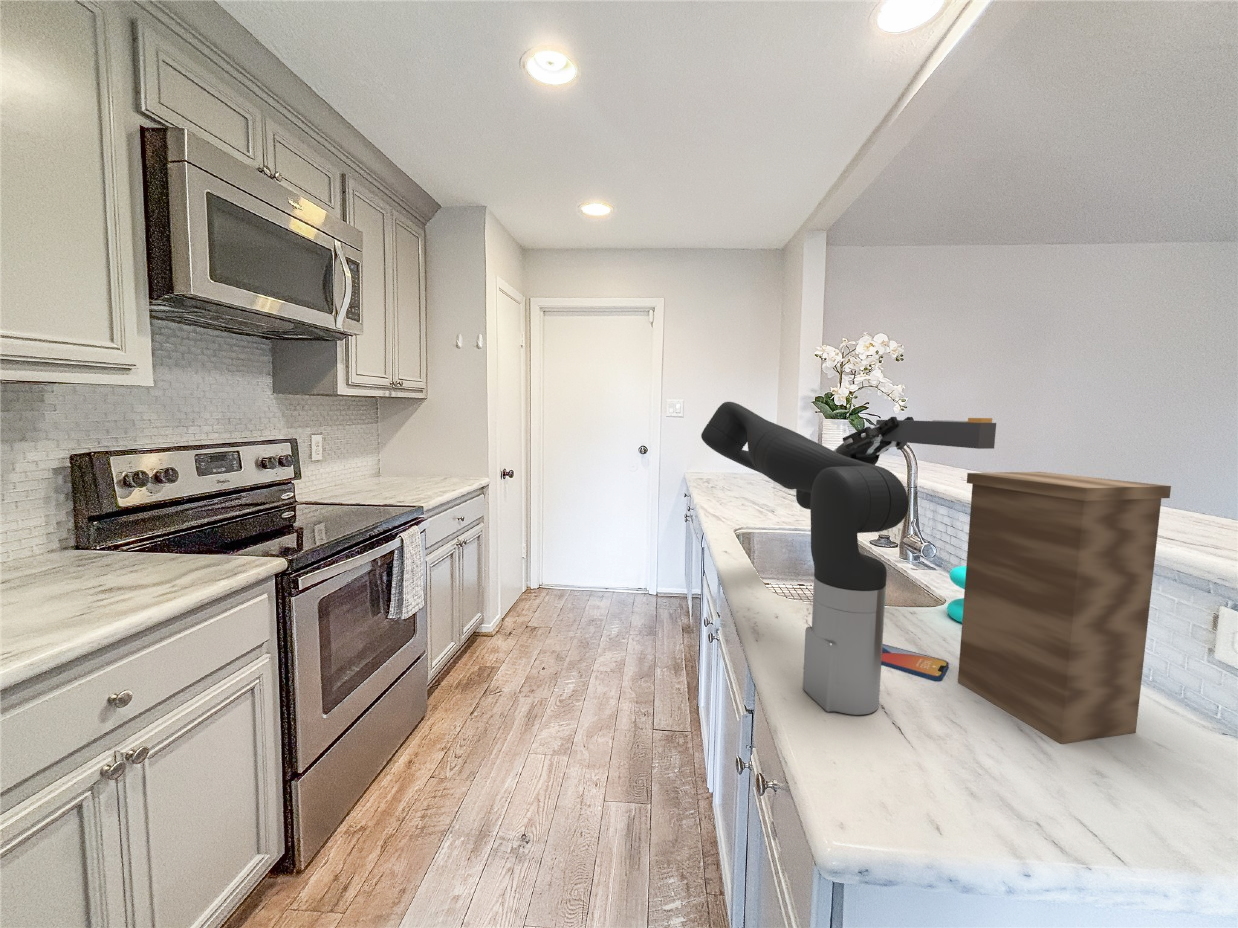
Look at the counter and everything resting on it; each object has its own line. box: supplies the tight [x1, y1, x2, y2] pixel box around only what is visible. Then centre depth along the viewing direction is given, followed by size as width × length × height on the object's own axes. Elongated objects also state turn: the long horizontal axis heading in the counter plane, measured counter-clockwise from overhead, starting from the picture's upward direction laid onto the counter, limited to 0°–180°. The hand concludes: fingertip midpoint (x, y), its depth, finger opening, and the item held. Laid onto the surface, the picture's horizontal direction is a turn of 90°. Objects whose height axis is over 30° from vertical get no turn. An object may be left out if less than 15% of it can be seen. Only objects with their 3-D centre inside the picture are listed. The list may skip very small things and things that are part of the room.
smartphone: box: [881, 643, 950, 682], centre depth 85 cm, size 7×15×1 cm, turn 47°
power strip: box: [875, 417, 997, 450], centre depth 90 cm, size 3×23×5 cm, turn 12°
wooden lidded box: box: [957, 471, 1172, 745], centre depth 70 cm, size 13×16×32 cm
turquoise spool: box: [946, 565, 966, 624], centre depth 101 cm, size 10×10×10 cm
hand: (904, 421), depth 96 cm, fingers closed on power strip, 3 cm apart
